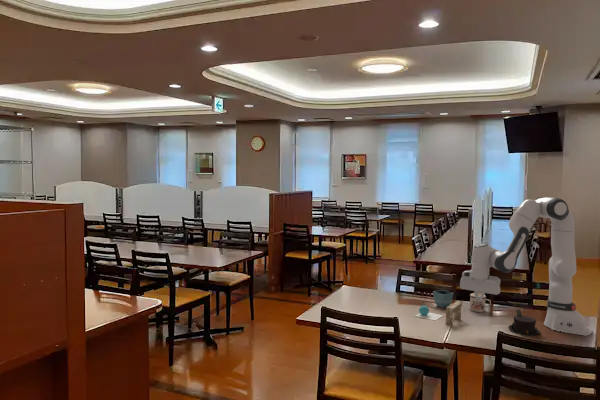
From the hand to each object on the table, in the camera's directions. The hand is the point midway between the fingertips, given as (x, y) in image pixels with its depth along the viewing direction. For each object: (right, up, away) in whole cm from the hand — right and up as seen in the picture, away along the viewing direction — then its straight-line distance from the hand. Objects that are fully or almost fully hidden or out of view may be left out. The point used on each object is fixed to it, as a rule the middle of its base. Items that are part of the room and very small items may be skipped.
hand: (479, 299), depth 246 cm
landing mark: (-22, -13, +18) cm, 31 cm away
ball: (-24, -10, +19) cm, 33 cm away
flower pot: (-8, -13, +38) cm, 41 cm away
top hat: (+22, -16, -4) cm, 28 cm away
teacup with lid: (+13, -13, +31) cm, 36 cm away
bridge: (-11, -14, +9) cm, 20 cm away
